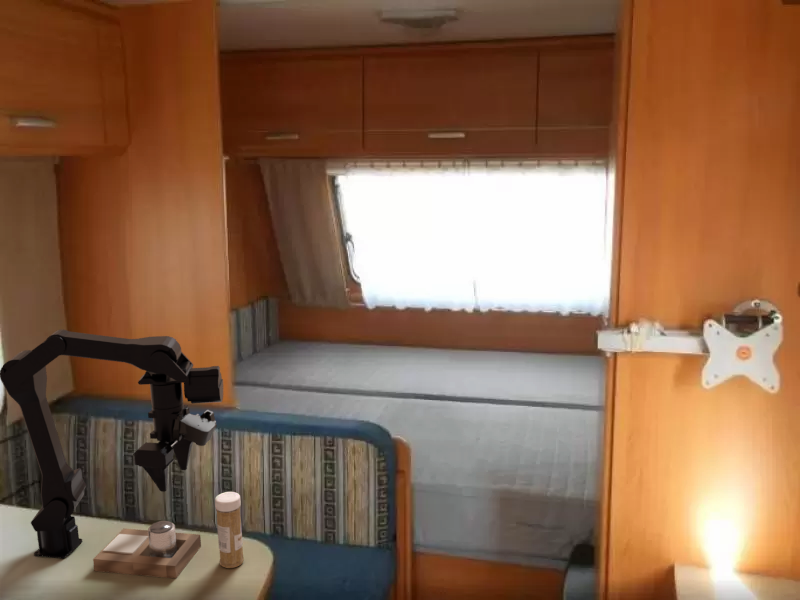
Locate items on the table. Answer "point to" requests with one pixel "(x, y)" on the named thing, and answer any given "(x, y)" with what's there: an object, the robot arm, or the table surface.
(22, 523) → the table surface
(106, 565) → the block
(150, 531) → the plug
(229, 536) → the sprinkles bottle
